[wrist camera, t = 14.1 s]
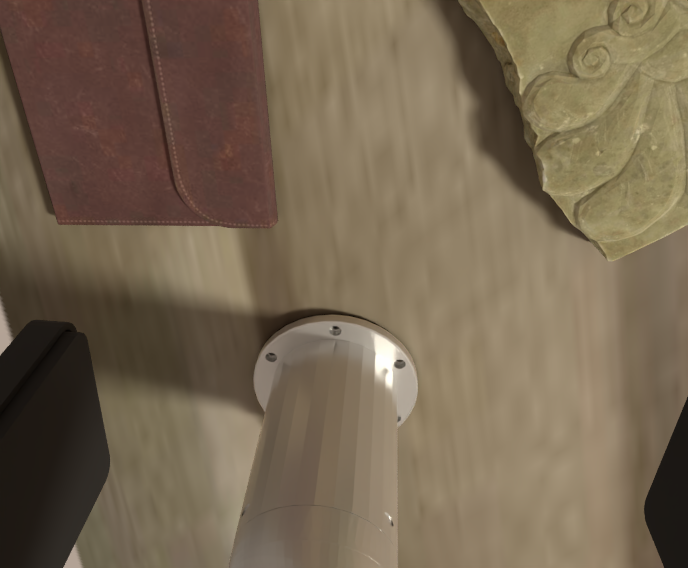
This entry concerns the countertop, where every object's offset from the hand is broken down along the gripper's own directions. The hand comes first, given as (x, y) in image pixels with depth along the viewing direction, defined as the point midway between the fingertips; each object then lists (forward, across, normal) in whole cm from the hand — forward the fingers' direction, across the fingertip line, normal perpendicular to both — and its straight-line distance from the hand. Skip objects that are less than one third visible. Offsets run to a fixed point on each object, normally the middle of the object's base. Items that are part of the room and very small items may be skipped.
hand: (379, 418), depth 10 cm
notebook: (+32, +15, +2) cm, 35 cm away
